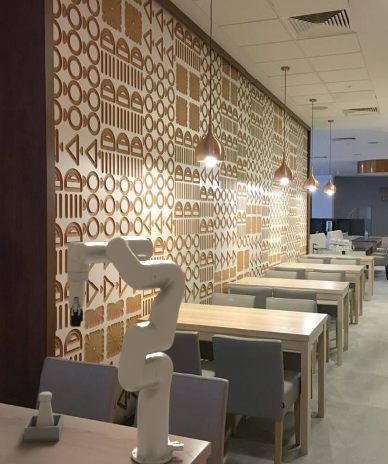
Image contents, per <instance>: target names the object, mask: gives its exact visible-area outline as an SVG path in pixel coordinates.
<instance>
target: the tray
mask: <svg viewBox="0 0 388 464" xmlns="http://www.w3.org/2000/svg"><path fill="white" fill-rule="evenodd" d="M64 414H65V413H64ZM64 414H63V413H59V414H56V413H55V414H53V419H54V426H47V427H36V423H37V417H38V414H31V415H30V416H29V417H28V420H27V422H26V424H25V426H24V428H23V431H24V432H23V443H31V442H32V443H33V442H34V443H35V442H60V440H61V437H62V432H63V429H64V419H65V418H64Z"/></svg>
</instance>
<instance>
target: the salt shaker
mask: <svg viewBox="0 0 388 464" xmlns="http://www.w3.org/2000/svg"><path fill="white" fill-rule="evenodd" d="M52 399H53V393H52V392H50V391H42V392H40V393H39V394H38V401H40V402H39V407H38V412H37V415H38V417H37V423H36V427H47V426H54V419H53V415H54V413H53V408H52V403H51V402H52V401H51V400H52Z"/></svg>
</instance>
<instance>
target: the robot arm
mask: <svg viewBox="0 0 388 464" xmlns="http://www.w3.org/2000/svg"><path fill="white" fill-rule="evenodd" d="M154 248H155V247H154V244H153V243H152V241H151V240H150V239H148V238H147V237H145V236H139V235H137V236H135V235H134V236H132V235H131V236H116V237H114V238H113V239H110V240H109V241H92V242H91V241H90V242H85V241H71V242H69V243H68V245H67V261H66V262H67V263H66V267H67V268H66V270H67V272H66V274H67V275H66V277H67V278H66V280H67V282H69V287H68V289H69V290H68V309H69V310H71V309H72V310H71V318H70V320H71V321H70V326H71V327H72V328H80V327H81V323H82V322H83V321H84V310H83V308H84V306H85V300H86V299H85V298H86V282H87V281H89V280H90V279H89V276H90V271H89V269H90V268H89V267H90V265H94V264H112V266H113V267H114V268H115V269H116V270H117V272H118V274H119V275H120V276H121V277H122V279H123V280H124V282H125V283H126V284H127V285H128V287H130V288H131V289H132V290H135V291H147V290H149V291H150V290H155V289H159V291H158V293H157V294H156V295H155V297H154V299H153V300H152V303H151V306H150V312H149V316H148V318H147V320H146V321H142V322H137V323H134V324H131V325H130V326H129V327H128V328H127V329H126V331H125V332H124V336H123V339H122V344H121V351H120V354H119V355H120V356H119V362H118V369H117V377H118V378H117V379H118V382H119V383H118V384H119V385H120V387H121V388H122V389H123V390H125V391H127V392H137V391H139V394H138V398H137V422H136V423H137V424H136V425H137V426H136V427H137V428H136V429H137V430H136V432H137V434H136V435H137V436H136V438H137V439H136V447H134V448H133V450H132V451H131V458H132V460H133V461H135V463H138V464H166V463H168V462H170V461H171V460H173V458H174V452H183V451H184V450H185V449H184V444H183V443H180V442H179V441H171V440H170V438H169V426H170V425H169V424H170V421H169V419H170V416H169V415H170V393H171V392H170V391H171V384H172V379H173V376H174V375H173V374H174V364H173V361H172V359H171V357H170V356H169V355H168V354H166V353H165V351H167V350H169V349H170V348H171V347H172V346H173V344H174V340H175V336H176V330H177V324H178V319H179V314H180V313H179V312H180V307H181V304H182V301H183V297H184V296H185V291H186V276H185V273H184V270H183V269H182V268H181V265H179V264H178V263H176V262H175V261H173V260H167V259H155V260H153V259H152V260H151V258H152V256H153V254H154V251H155V249H154ZM179 443H180V444H179Z"/></svg>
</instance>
